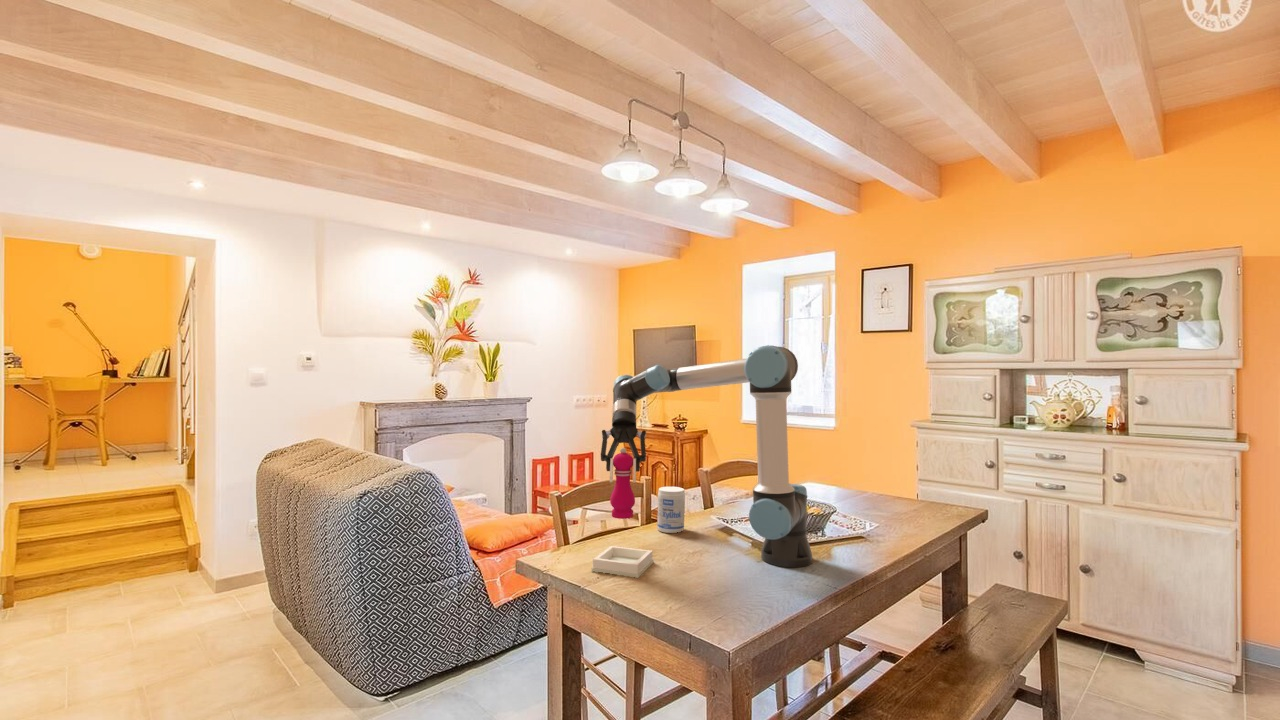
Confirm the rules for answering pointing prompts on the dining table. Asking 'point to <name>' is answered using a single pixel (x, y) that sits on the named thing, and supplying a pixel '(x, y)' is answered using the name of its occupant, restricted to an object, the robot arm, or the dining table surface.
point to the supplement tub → (671, 509)
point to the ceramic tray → (623, 561)
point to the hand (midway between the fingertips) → (622, 479)
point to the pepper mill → (622, 486)
